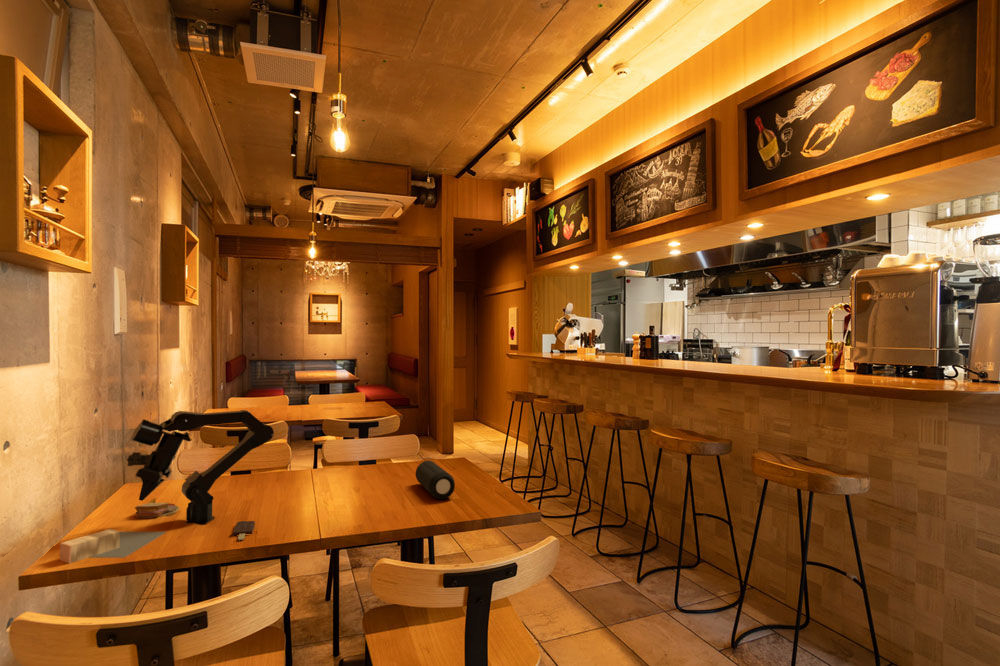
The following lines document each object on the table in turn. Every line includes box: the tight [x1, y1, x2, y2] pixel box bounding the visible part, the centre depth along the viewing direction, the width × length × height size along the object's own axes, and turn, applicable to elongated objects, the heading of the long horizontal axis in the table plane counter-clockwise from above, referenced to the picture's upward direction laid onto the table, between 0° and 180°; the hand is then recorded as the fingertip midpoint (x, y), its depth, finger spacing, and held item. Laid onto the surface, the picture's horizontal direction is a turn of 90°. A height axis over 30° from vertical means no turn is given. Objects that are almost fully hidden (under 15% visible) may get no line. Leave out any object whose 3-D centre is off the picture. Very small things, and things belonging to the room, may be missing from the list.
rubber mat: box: [87, 531, 167, 559], centre depth 153 cm, size 15×19×1 cm
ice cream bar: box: [232, 520, 256, 542], centre depth 164 cm, size 5×2×15 cm
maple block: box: [59, 528, 121, 564], centre depth 145 cm, size 4×4×12 cm
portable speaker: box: [415, 460, 456, 500], centre depth 210 cm, size 26×10×10 cm, turn 23°
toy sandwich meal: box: [134, 498, 180, 519], centre depth 180 cm, size 12×14×5 cm
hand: (140, 500), depth 163 cm, fingers closed
